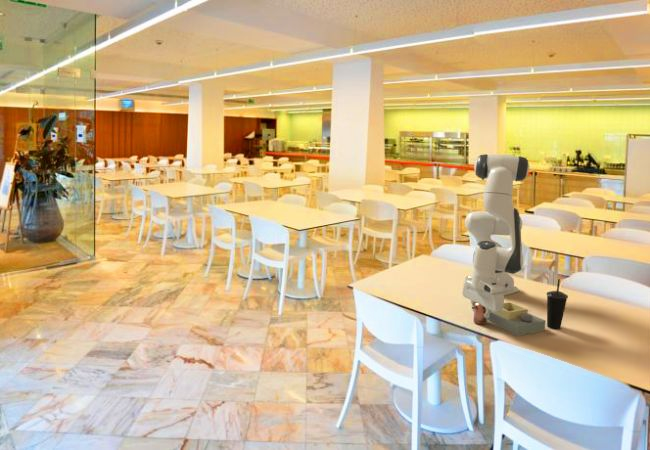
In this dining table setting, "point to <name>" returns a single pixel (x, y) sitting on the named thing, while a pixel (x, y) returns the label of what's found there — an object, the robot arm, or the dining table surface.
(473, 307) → the spout can
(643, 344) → the dining table surface
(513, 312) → the grey block with tray
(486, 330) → the dining table surface
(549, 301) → the drinking cup
